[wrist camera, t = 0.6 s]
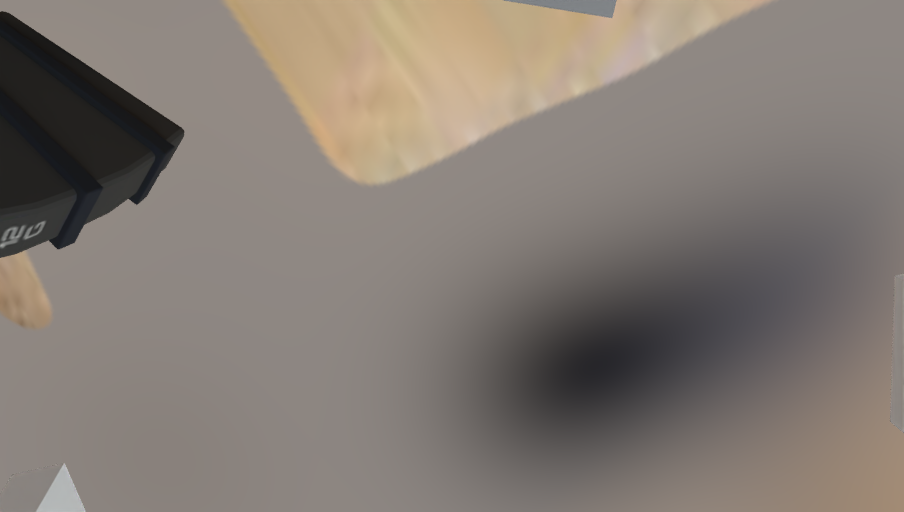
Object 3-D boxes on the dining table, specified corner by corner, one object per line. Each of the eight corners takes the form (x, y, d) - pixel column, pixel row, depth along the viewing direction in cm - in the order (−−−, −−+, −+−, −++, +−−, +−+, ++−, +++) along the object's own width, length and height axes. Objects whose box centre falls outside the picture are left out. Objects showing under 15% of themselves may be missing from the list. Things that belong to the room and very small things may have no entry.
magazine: (201, 219, 43) (-77, 292, 30) (60, 59, 45) (-258, 62, 32) (232, 172, 41) (-50, 227, 28) (83, 7, 43) (-244, -12, 30)
